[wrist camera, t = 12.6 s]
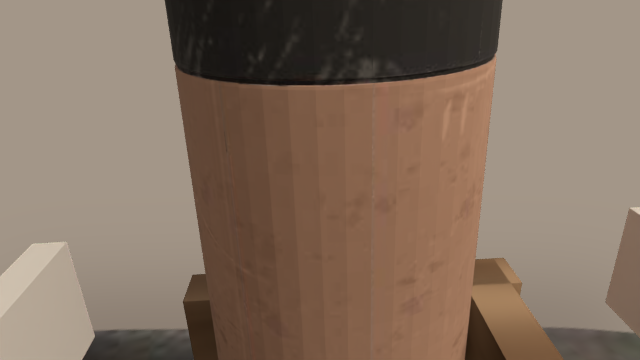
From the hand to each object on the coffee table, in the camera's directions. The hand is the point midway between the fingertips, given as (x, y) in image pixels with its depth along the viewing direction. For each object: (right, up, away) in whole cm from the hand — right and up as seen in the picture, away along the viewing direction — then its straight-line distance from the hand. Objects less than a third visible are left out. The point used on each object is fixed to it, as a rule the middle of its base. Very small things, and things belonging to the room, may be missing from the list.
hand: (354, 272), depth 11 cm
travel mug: (0, -11, +7) cm, 13 cm away
